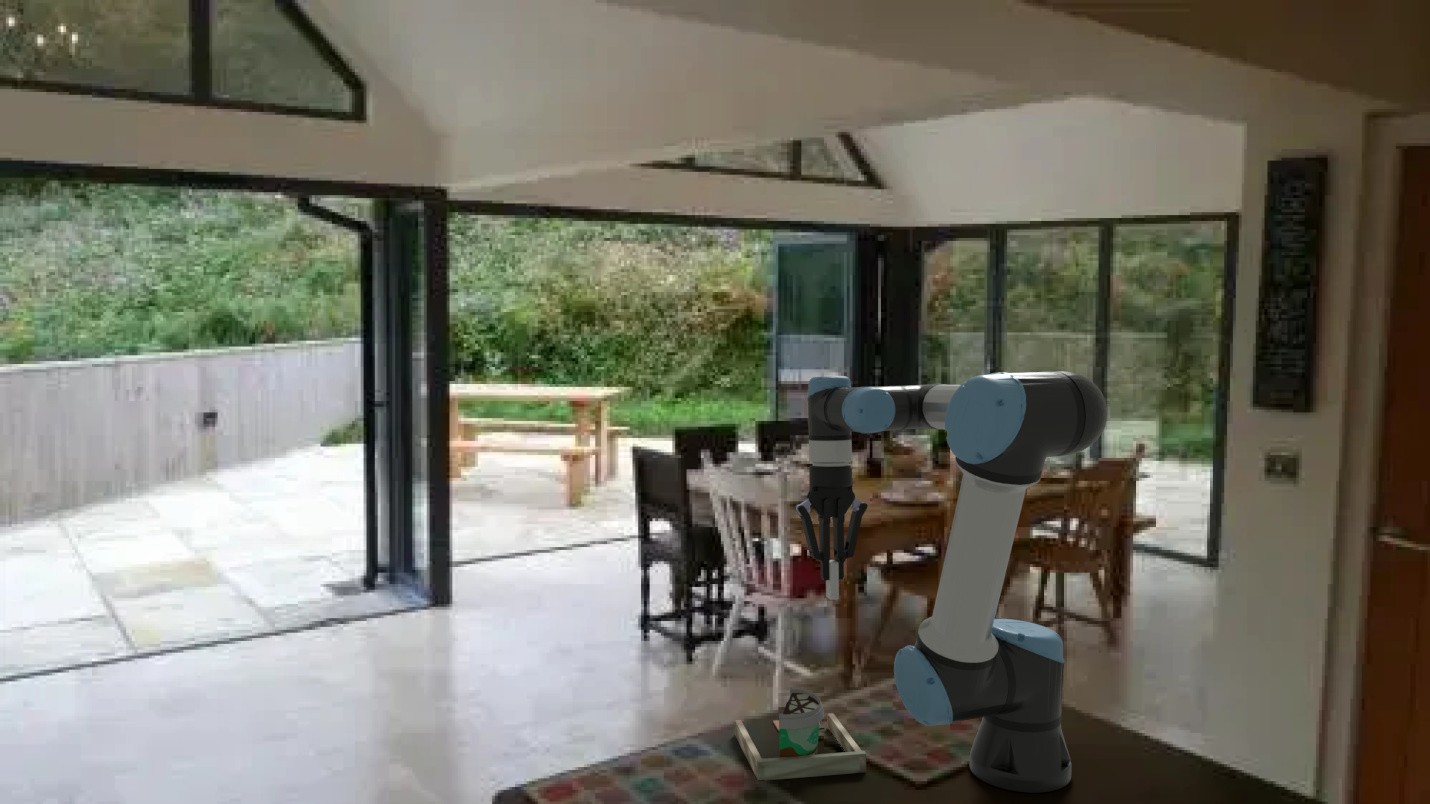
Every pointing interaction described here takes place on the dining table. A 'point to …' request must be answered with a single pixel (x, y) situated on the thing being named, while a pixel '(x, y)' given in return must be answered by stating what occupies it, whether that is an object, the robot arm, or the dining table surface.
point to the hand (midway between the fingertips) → (832, 598)
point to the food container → (800, 724)
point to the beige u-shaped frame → (805, 757)
